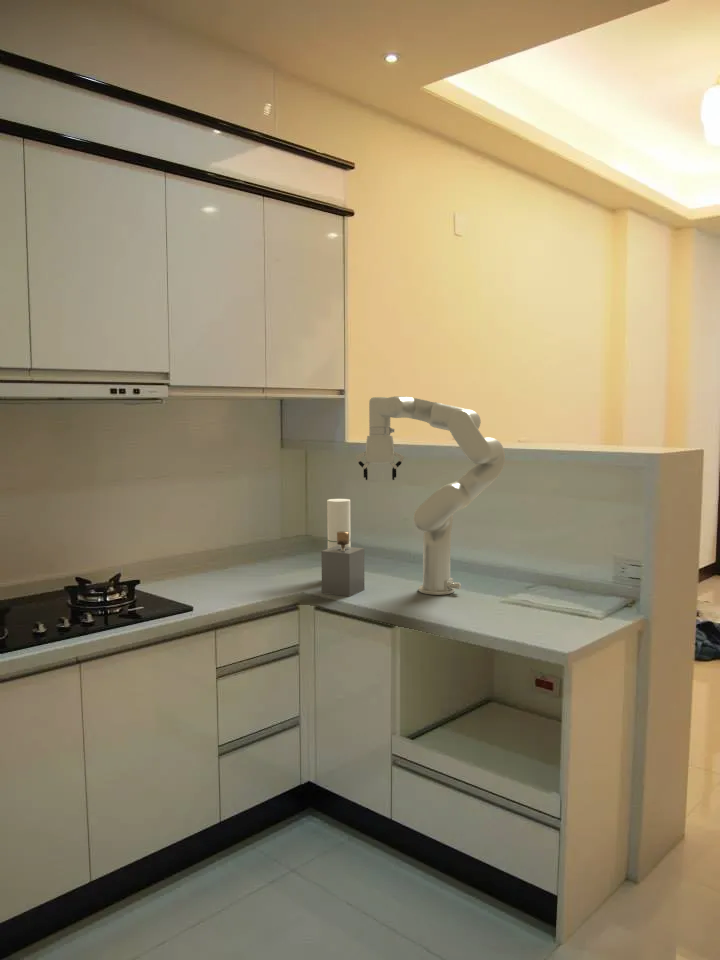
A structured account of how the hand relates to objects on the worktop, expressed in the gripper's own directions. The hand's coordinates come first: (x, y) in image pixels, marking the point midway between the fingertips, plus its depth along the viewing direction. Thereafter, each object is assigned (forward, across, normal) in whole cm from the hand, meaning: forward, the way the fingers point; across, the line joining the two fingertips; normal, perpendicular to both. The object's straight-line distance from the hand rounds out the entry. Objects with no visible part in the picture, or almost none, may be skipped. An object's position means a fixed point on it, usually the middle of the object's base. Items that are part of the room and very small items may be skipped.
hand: (379, 479), depth 273 cm
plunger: (+37, +13, +10) cm, 41 cm away
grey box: (+38, +13, +10) cm, 42 cm away
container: (+38, +15, -8) cm, 42 cm away
